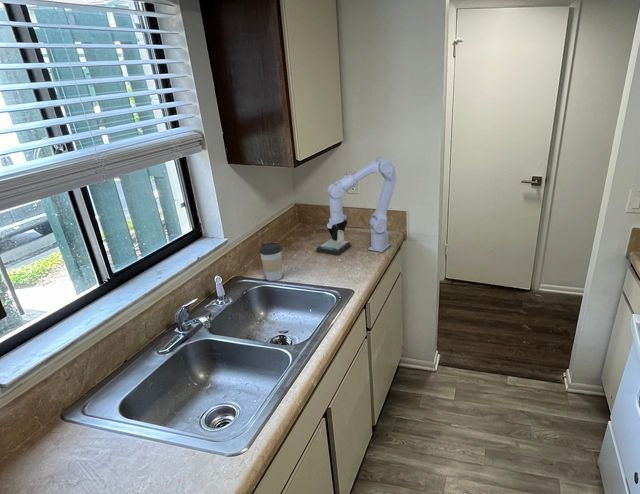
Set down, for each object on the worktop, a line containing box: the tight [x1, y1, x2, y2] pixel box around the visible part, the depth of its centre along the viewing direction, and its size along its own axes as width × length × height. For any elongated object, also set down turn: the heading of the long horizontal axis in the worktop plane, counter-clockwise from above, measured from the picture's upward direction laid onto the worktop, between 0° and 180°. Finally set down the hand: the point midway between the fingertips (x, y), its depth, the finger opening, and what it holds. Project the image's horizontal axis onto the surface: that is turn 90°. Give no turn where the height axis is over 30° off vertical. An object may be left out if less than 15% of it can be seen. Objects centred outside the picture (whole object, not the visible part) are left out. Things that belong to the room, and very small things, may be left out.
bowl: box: [332, 230, 345, 243], centre depth 205 cm, size 6×6×4 cm
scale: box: [316, 237, 352, 256], centre depth 214 cm, size 12×12×3 cm
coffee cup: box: [258, 242, 283, 282], centre depth 184 cm, size 9×9×15 cm
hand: (338, 237), depth 205 cm, fingers closed on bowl, 5 cm apart
